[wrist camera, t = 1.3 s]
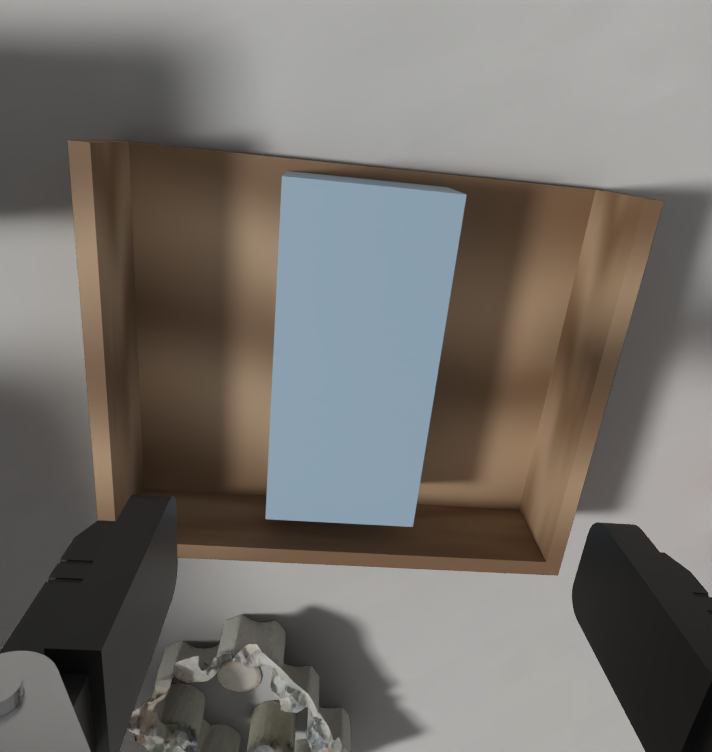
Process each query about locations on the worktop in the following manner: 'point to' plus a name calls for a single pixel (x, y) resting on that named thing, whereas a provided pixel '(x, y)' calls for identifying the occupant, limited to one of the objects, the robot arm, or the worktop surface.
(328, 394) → the light blue block
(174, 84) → the worktop surface
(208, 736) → the egg carton
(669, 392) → the worktop surface
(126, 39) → the worktop surface
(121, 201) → the walnut box
